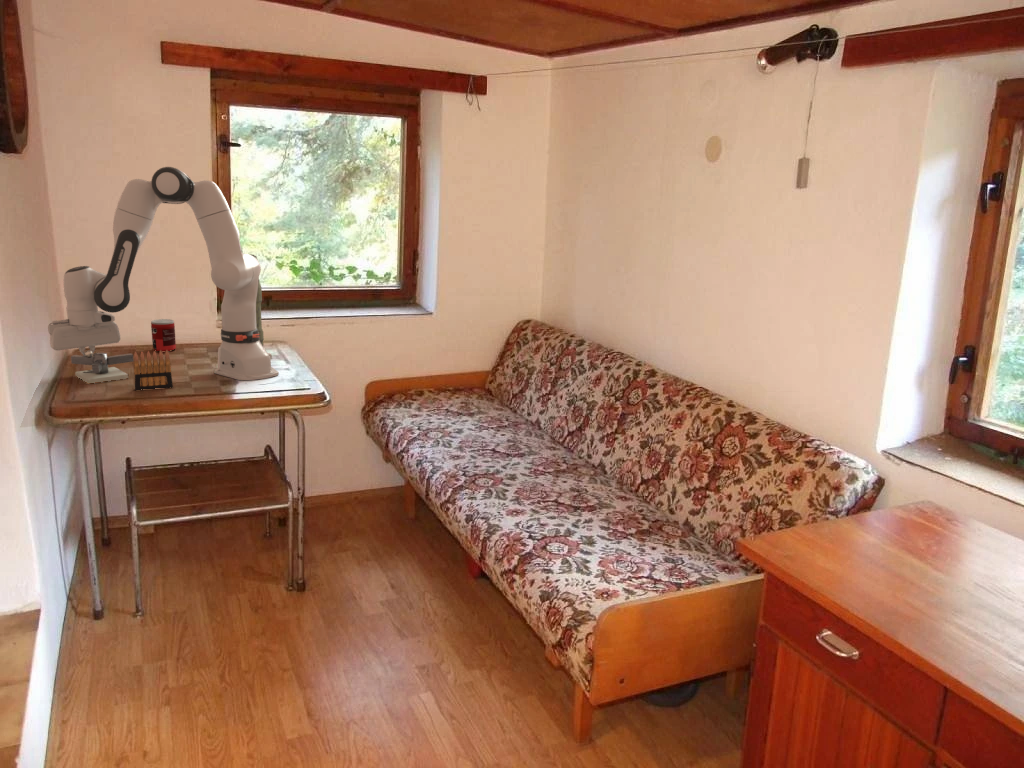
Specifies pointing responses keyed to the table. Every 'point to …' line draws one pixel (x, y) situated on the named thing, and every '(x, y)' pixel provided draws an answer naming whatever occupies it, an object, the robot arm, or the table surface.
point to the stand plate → (101, 375)
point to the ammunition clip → (152, 371)
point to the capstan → (100, 360)
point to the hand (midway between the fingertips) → (88, 359)
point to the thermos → (259, 310)
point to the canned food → (163, 334)
